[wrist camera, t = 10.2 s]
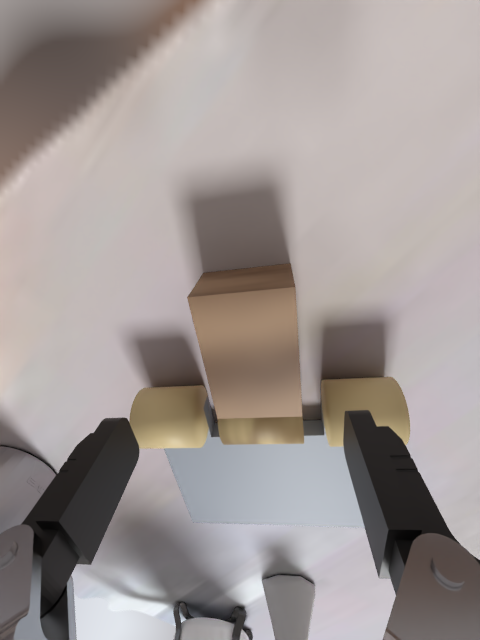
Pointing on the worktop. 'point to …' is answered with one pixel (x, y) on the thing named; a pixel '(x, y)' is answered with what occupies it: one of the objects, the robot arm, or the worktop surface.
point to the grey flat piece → (265, 456)
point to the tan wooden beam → (251, 353)
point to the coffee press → (210, 626)
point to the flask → (289, 606)
